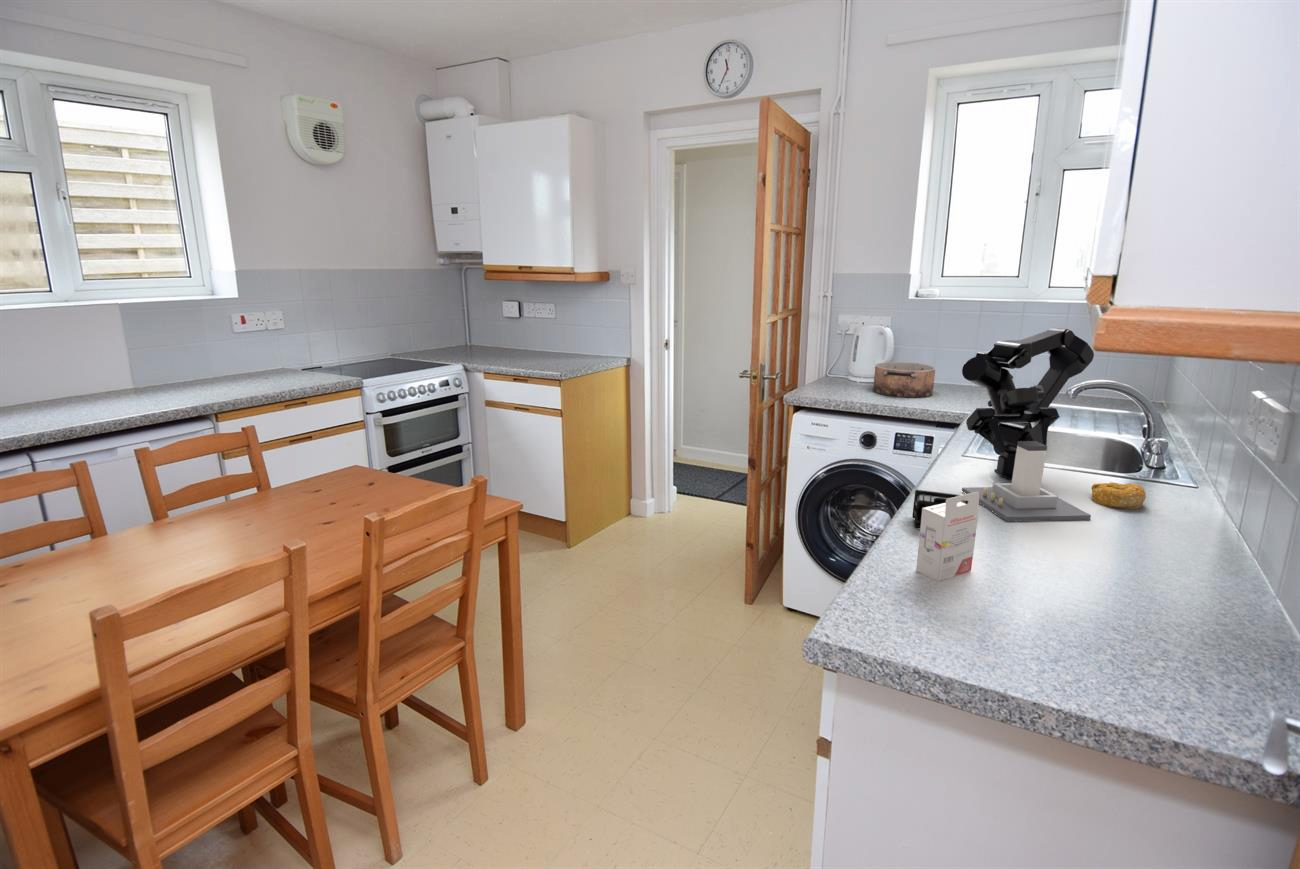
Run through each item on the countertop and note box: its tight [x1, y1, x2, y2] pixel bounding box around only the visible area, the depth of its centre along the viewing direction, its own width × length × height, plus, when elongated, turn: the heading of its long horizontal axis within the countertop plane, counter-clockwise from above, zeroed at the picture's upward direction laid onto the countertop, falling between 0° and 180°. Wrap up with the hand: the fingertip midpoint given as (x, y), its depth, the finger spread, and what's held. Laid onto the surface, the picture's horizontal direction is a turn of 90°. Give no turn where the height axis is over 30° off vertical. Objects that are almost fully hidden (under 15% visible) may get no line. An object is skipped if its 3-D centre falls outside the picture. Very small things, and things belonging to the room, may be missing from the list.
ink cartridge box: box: [915, 492, 980, 582], centre depth 114 cm, size 9×5×15 cm, turn 117°
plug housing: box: [1010, 441, 1048, 496], centre depth 145 cm, size 4×4×13 cm
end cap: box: [912, 489, 968, 529], centre depth 135 cm, size 10×7×7 cm
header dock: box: [961, 482, 1092, 522], centre depth 147 cm, size 18×18×4 cm
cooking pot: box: [872, 361, 936, 399], centre depth 266 cm, size 30×22×11 cm
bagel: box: [1090, 482, 1147, 510], centre depth 149 cm, size 10×11×5 cm
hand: (1024, 452), depth 146 cm, fingers open, 9 cm apart
